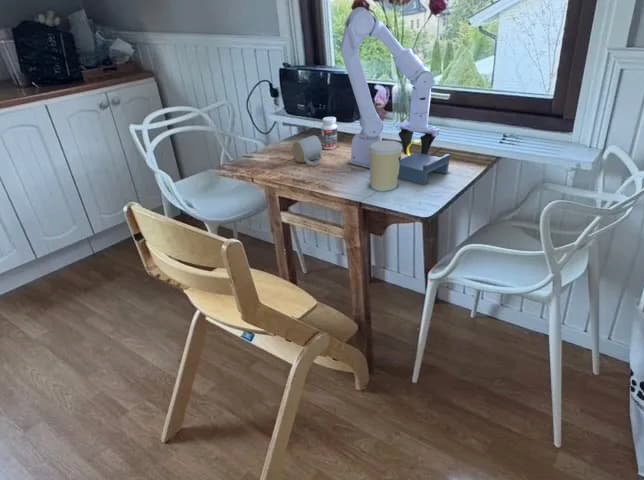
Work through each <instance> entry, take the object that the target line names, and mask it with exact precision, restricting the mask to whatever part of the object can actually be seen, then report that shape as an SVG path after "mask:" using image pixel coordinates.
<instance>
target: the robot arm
mask: <svg viewBox="0 0 644 480" xmlns="http://www.w3.org/2000/svg"><path fill="white" fill-rule="evenodd" d="M368 36H369V38H374V39H378V41H380V42H381V44H383V45H384V47H386V49H387V50H388V51H389V52H390V53H391V54H392V55H393V57H394V65H395V67H397V69H398V70H399V71H400V72H401V73H402V74H403V76H404V77H405V78H406V79H407V80H408V81H410V84H411V85H412V87H411V89H412V91H411V95H410V108H409V120H408V122H405V121H400V122H398V123H397V124H396V125H397V126H396V130H397V131H399V132H398V137H399V139H400V141H401V145H402V150H403V154H404V155H407V152H406V150H407V146H408V145H409V144H410V143H412V141H413V140H412V139H413V135H414V133H417V134H423V135H421V136H420V139H419V140H421V146H420V149H421V150H420V153H422V154H426V155H428V153H429V150H430V147H431V145H432V144H433V142H434V140H435V139H436V137H438V136H439V135H440V130H441V129H440V128H438V127H435V126H433V125H429V114H430V106H431V96H432V95H431V92H432V89H433V87H434V85H435V82H436V80H435V76H434V74H433V72H431V71H430V70H429V69H428V67H427V66H428V64H427V63H426V62H423V61H422V60H421V59H420V57H418V55H417V54H418V51H416V50H415V49H412V48H411V47H403V46H402V44H401V43H400V42H399V41H398V40H397V38H396V37H395V36H394V34H393V33H392V32H391V31H390V29H389V28H388V27H387V26H386V25H385V23H383V22H382V21H381V20H379V19H378V18H377V17H376V16H374V15H373V13H372V12H371V11H369V10H368V9H367V8H365V7H364V6H363V7H362V6H359V7H355V8H354V9H352V11H351V12H350V13H349V15H348V17H347V19H346V20H345V23H344V30H343V33H342V38H341V43H340V53H341V56H342V59H343V62H344V66H345V69H346V72H347V76H348V78H349V82H350V85H351V89H352V93H353V95H354V98H355V101H356V104H357V109H358V111H359V120H358V121H359V125H360V128H361V130H360V132H359V133H356V134H354V136H353V137H352V140H351V146H350V147H351V148H350V149H351V150H350V161H349V164H352V165H355V166H359V167H364V168H366V169H367V168H368V169H370V151H369V148H370V145H371V144H373V143H375V142H378V141H383V131H384V122H383V120H382V119H381V118H380V115H379V114H378V112H377V111H376V107H375V105H374V102H373V98H372V95H371V92H370V88H369V85H368V81H367V78H366V74H365V71H364V67H363V65H362V60H361V56H360V54H359V49H360V47H361V45H362V43H363V41H364V40H365V39H366V38H367V37H368ZM411 146H412V145H411ZM411 146H410V148H409V152H411V148H412V147H411Z"/></svg>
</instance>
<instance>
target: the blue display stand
mask: <svg viewBox="0 0 644 480" xmlns="http://www.w3.org/2000/svg"><path fill="white" fill-rule="evenodd" d="M450 158H451V154H449V153H446V154H444V155H441V156H440V157H439V156H435V155H431V154H427V155H426V154H422V153H421V152H414V153H412V154H410V155H409V156H407V155H406V156H405V157H403V158H401V160H400V167H399V173H398V179H402V180H406V181H410V182H414V183H418V184H421V185H426V184H427V183H428V174H429V173H431V172H437V173H441V174H447V173H449V165H450V160H451V159H450Z"/></svg>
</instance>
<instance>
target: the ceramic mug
mask: <svg viewBox="0 0 644 480" xmlns="http://www.w3.org/2000/svg"><path fill="white" fill-rule="evenodd" d="M291 149H292V155H293V158H294V160H295V161H296V163H297V162H298V163H301V164H302V163H306V164H307V165H309V166H312V167H315V166H318V165H320V164H321V163H322V154H323V148H322V146H321V139H319V137H318V136H317V135H314V134H313V135H309V136H307V137H305V138H302V139H298V140H296V141H295V142H294V143H293V144H292V148H291ZM318 159H319V160H318ZM313 160H317V161H313Z"/></svg>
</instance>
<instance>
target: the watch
mask: <svg viewBox="0 0 644 480" xmlns="http://www.w3.org/2000/svg"><path fill="white" fill-rule="evenodd" d="M412 145H415V146H420V147H421V139H414V140H412V141H411V143H410V144H409V145H408V146H407V150H406V152H407V154H406V157H407V156H409V155H411V153H410V152H411V151H410V152H409V148H410V146H412ZM410 149H411V148H410Z"/></svg>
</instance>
